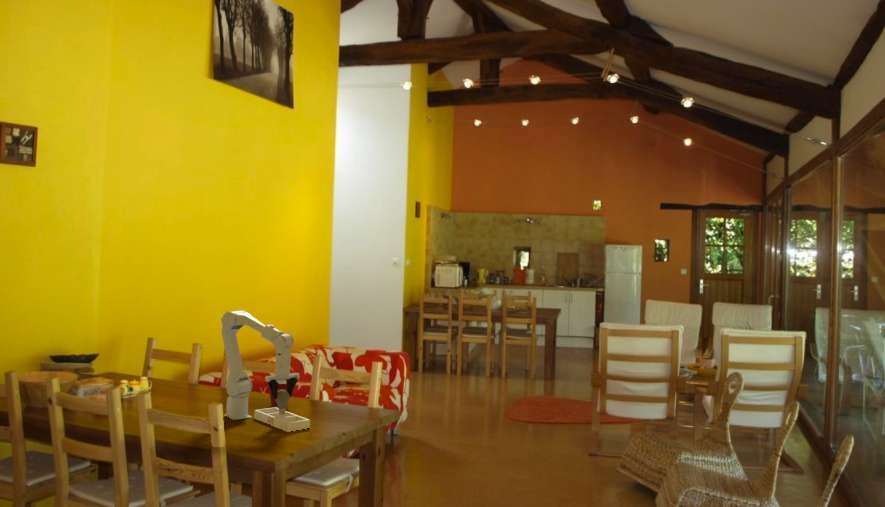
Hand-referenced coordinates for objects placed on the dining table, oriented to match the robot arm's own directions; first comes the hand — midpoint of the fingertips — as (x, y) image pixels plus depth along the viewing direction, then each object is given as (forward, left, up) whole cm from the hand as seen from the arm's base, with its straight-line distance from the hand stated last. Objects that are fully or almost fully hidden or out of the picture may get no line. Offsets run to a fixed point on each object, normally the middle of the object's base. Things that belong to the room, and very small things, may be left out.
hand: (281, 397), depth 295 cm
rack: (0, 0, -10) cm, 10 cm away
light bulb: (+1, 0, -7) cm, 7 cm away
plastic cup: (-29, +15, -11) cm, 34 cm away
